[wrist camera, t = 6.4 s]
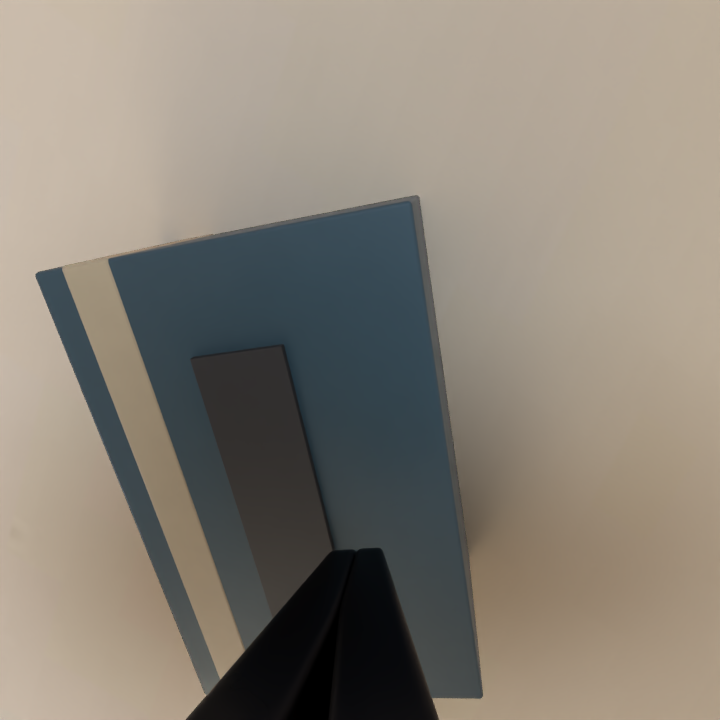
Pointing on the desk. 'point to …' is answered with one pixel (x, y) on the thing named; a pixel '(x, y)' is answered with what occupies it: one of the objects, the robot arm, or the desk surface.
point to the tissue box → (279, 422)
